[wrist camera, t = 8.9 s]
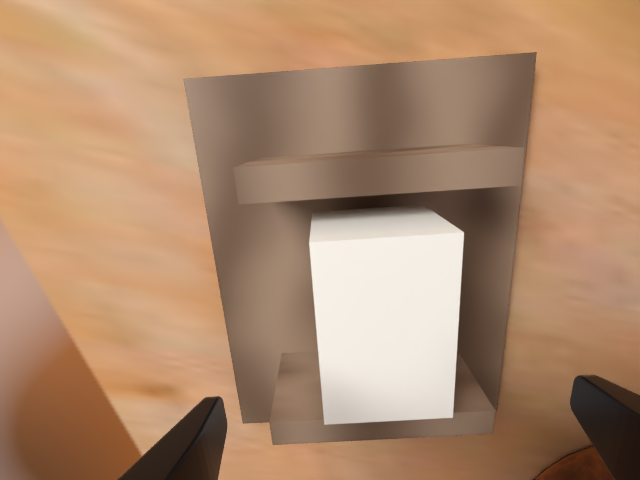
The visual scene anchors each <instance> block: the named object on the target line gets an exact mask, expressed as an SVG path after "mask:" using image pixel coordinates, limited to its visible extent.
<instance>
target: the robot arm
mask: <svg viewBox="0 0 640 480" xmlns="http://www.w3.org/2000/svg"><path fill="white" fill-rule="evenodd" d="M570 405H571V409H572V411H573V413H574V415H575V416H576V418H577V420H578V421H579V423H580V425H581V426H582V428H583V430H584V431H585V433H586V434H587V436H588V438H589V439H590V441H591V443H592V444H593V446H594V447H595V449H596V451H597V452H598V454H599V456H600V457H601V459H602V461H603V462H604V464H605V465H606V467H607V469H608V470H609V472H610V473H611V475H612V476H613V478H614V479H615V480H640V395H638V394H635V393H633V392H631V391H629V390H627V389H625V388H622V387H620V386H618V385H616V384H614V383H612V382H609V381H607V380H605V379H603V378H601V377H598V376H596V375H580V376H577V377H576V378H575V379H574V383H573V389H572V394H571V399H570ZM226 433H227V419H226V414H225V408H224V403H223V400H222V398H221V397H219V396H217V397H206V398H204V399H203V400H202V401H201V402H200V403H199V404H198V405H196V406H195V407H194V408H193V409H192V410H191V411H190V412H189V413H188V414H187V415H186V416H185V417H184V418H183V419H182V420H180V421H179V422H178V423H177V424H176V425H175V426H174V427H173V428H172V429H171V430H170V431H169V432H168V433H167V434H166V435H164V436H163V437H162V438H161V439H160V440H159V441H158V442H157V443H156V444H155V445H154V446H153V447H152V448H151V449H150V450H149V451H147V452H146V453H145V454H144V455H143V456H142V457H141V458H140V459H139V460H138V461H137V462H136V463H135V464H134V465H133V466H132V467H131V468H129V469H128V470H127V471H126V472H125V473H124V474H123V475H122V476H121V477H120V478H119V479H118V480H218V475H219V470H220V465H221V459H222V454H223V449H224V443H225V438H226Z"/></svg>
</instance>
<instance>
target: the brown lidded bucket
mask: <svg viewBox="0 0 640 480" xmlns="http://www.w3.org/2000/svg"><path fill="white" fill-rule="evenodd" d="M535 480H615V479H614V478H613V476H612V475H611V473H610V472H609V470H608V469H607V467H606V465H605V464H604V462H603V461H602V459H601V457H600V456H599V454H598V452H597V451H596V449H595V447H594V446H592V447H590V448H587V449H584V450H581V451H579V452H576V453H574V454H571V455H569V456H567V457H565V458H563V459H562V460H560V461H558V462H556V463H555V464H553V465H552V466H550V467H549V468H548V469H546V470H545V471H544V472H542V473H541V474H540V475H539V476H538V477H537V478H536V479H535Z"/></svg>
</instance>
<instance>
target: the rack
mask: <svg viewBox="0 0 640 480" xmlns="http://www.w3.org/2000/svg"><path fill="white" fill-rule="evenodd" d="M536 53H537V52H534V53H520V54H507V55H494V56H481V57H467V58H454V59H441V60H428V61H414V62H401V63H388V64H375V65H361V66H348V67H335V68H322V69H309V70H295V71H282V72H269V73H256V74H242V75H229V76H216V77H203V78H189V79H184V85H185V91H186V96H187V102H188V108H189V114H190V120H191V125H192V131H193V137H194V143H195V149H196V154H197V160H198V166H199V172H200V178H201V183H202V189H203V195H204V201H205V207H206V212H207V218H208V224H209V230H210V236H211V241H212V247H213V253H214V259H215V265H216V270H217V276H218V282H219V288H220V294H221V299H222V305H223V311H224V317H225V323H226V328H227V334H228V340H229V346H230V352H231V357H232V363H233V369H234V375H235V381H236V386H237V392H238V398H239V404H240V409H241V415H242V421H243V423H262V422H270V429H271V436H272V443H273V445H281V444H300V443H320V442H339V441H359V440H378V439H397V438H417V437H436V436H455V435H475V434H493V427H494V418H495V410H497V405H498V396H499V387H500V378H501V369H502V360H503V351H504V342H505V333H506V324H507V315H508V306H509V297H510V288H511V279H512V270H513V261H514V252H515V243H516V234H517V225H518V216H519V206H520V197H521V188H522V179H523V170H524V161H525V152H526V143H527V134H528V125H529V116H530V107H531V98H532V89H533V80H534V71H535V62H536ZM411 205H424V206H426V207H427V208H429V209H430V210H432V211H433V212H435V213H436V214H438V215H439V216H441V217H442V218H444V219H445V220H447V221H448V222H450V223H451V224H453V225H454V226H455V227H457V228H458V229H460V230H461V231H463V232H464V242H463V259H462V275H461V292H460V308H459V325H458V341H457V358H456V375H455V391H454V408H453V418H439V419H420V420H402V421H383V422H365V423H346V424H328V425H324V415H323V403H322V391H321V379H320V367H319V356H318V344H317V332H316V320H315V308H314V296H313V284H312V272H311V260H310V248H309V239H310V229H311V220H312V212H323V211H337V210H352V209H367V208H381V207H396V206H411Z"/></svg>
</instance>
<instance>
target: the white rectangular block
mask: <svg viewBox="0 0 640 480" xmlns="http://www.w3.org/2000/svg"><path fill="white" fill-rule="evenodd" d="M463 242H464V232H463V231H461V230H460V229H458V228H457V227H455V226H454V225H453V224H451V223H450V222H448V221H447V220H445V219H444V218H442V217H441V216H439V215H438V214H436V213H435V212H433V211H432V210H430V209H429V208H427V207H426V206H424V205H411V206H396V207H381V208H367V209H352V210H337V211H323V212H312V220H311V229H310V239H309V248H310V260H311V272H312V284H313V296H314V308H315V320H316V332H317V344H318V356H319V367H320V379H321V391H322V403H323V415H324V425H328V424H346V423H365V422H383V421H402V420H420V419H439V418H453V408H454V391H455V375H456V358H457V341H458V325H459V308H460V292H461V275H462V259H463Z"/></svg>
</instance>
